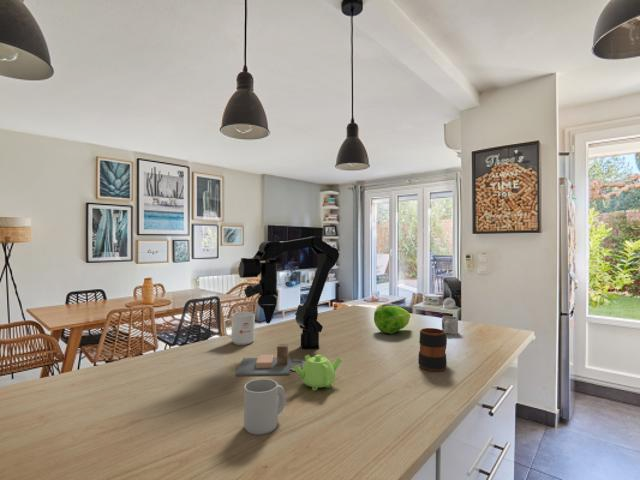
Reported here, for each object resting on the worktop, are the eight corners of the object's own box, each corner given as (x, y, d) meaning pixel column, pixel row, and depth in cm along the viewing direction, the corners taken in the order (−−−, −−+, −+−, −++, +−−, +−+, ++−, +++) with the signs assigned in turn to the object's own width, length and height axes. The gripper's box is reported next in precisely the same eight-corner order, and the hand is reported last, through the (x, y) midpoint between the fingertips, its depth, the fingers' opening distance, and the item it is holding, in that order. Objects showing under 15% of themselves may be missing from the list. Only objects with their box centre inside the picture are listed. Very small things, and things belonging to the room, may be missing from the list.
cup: (238, 425, 77) (238, 384, 77) (276, 410, 84) (276, 373, 84) (254, 439, 72) (254, 395, 72) (294, 423, 78) (294, 382, 78)
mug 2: (457, 365, 115) (457, 329, 115) (436, 374, 107) (436, 336, 107) (434, 358, 121) (434, 324, 121) (412, 366, 114) (413, 330, 114)
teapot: (331, 396, 91) (331, 364, 91) (290, 390, 95) (291, 359, 95) (342, 380, 102) (342, 351, 102) (305, 375, 106) (305, 347, 106)
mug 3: (444, 330, 160) (444, 315, 160) (459, 332, 156) (459, 317, 156) (437, 334, 152) (437, 319, 152) (453, 337, 148) (453, 321, 148)
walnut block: (287, 361, 115) (287, 343, 115) (287, 365, 112) (287, 346, 112) (278, 361, 115) (278, 343, 115) (277, 365, 112) (277, 346, 112)
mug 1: (250, 337, 146) (250, 311, 146) (257, 343, 138) (257, 315, 138) (221, 341, 140) (221, 313, 140) (226, 347, 132) (226, 318, 132)
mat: (290, 359, 120) (290, 357, 120) (289, 374, 106) (289, 372, 106) (243, 359, 119) (243, 357, 119) (235, 375, 105) (235, 373, 105)
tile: (274, 355, 117) (272, 362, 110) (273, 360, 117) (272, 368, 110) (258, 355, 116) (256, 362, 109) (258, 360, 116) (255, 368, 109)
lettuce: (421, 331, 157) (421, 304, 157) (390, 338, 146) (390, 309, 146) (398, 325, 168) (398, 300, 168) (367, 331, 157) (367, 304, 157)
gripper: (248, 274, 134) (248, 315, 134) (242, 279, 115) (242, 327, 115) (278, 273, 135) (277, 314, 135) (276, 279, 116) (276, 326, 116)
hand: (268, 320), depth 125 cm, fingers open, 9 cm apart
